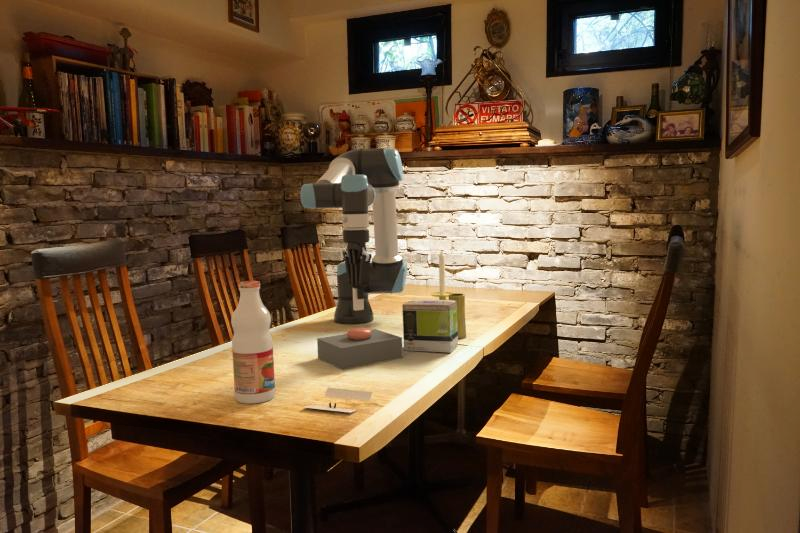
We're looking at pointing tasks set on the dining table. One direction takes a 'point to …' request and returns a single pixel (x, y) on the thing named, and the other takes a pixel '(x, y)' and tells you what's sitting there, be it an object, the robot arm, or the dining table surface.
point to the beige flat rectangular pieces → (343, 394)
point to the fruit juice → (252, 347)
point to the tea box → (430, 325)
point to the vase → (460, 313)
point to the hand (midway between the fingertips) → (358, 309)
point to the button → (359, 333)
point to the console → (359, 349)
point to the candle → (442, 279)
